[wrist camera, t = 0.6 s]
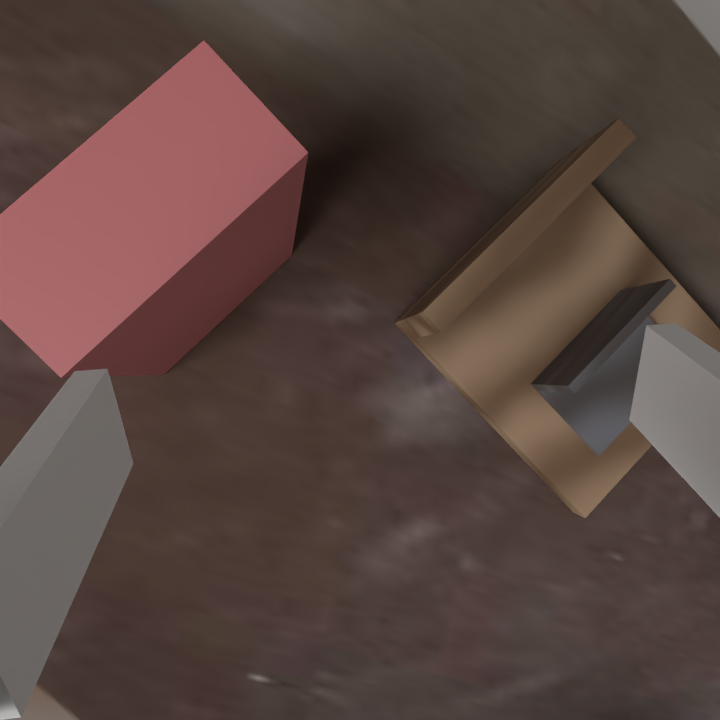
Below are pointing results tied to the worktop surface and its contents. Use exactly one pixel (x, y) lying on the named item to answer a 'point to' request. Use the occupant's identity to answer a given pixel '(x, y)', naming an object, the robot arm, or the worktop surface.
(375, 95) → the worktop surface
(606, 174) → the worktop surface
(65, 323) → the tall pink pillar
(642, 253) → the l-shaped wooden stand
